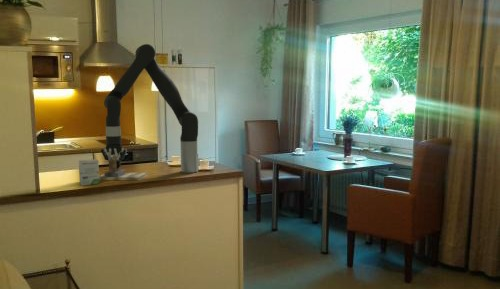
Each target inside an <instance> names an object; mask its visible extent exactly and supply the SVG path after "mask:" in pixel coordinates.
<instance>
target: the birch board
mask: <svg viewBox="0 0 500 289" xmlns="http://www.w3.org/2000/svg"><path fill="white" fill-rule="evenodd" d="M146 177H148V172H125V174H123V175H121V176H119V177H104V174H101V175H99V181H142V180H143V179H144V178H146Z"/></svg>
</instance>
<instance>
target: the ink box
mask: <svg viewBox="0 0 500 289" xmlns="http://www.w3.org/2000/svg"><path fill="white" fill-rule="evenodd" d="M78 171H79V173H78V174H79V185H80V186H90V185H91V186H92V185H99V184H100V180H99V176H100V167H99V160H98V159H82V160H78Z"/></svg>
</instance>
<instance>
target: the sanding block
mask: <svg viewBox="0 0 500 289" xmlns="http://www.w3.org/2000/svg"><path fill="white" fill-rule="evenodd" d="M125 173H126V169H121V167H120V168H117V159H116V158H112V160H110V161H108V170H107V171H105V172H104V177H119V176H121V175H123V174H125Z"/></svg>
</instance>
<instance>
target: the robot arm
mask: <svg viewBox="0 0 500 289" xmlns="http://www.w3.org/2000/svg"><path fill="white" fill-rule="evenodd" d="M134 53H135V59H133V62H132V63H131V64H130V66H129V67H128V69H126V71H125V72H124V73H123V74H122V76H121V77H120V79H119V80H118V81H117V83H116V84H115V86H114V88H113V89H112V90H111V91H110V92H109V93H108V94H107V96H106V97H105V98H104V100H103V101H104V102H103V105H104V107H105V108H106V114H107V115H106V116H105V145H106V146H105V148H102V149H101V150H100V152H101V154H102V156H103V159H104V160H105V161H108V162H109V161H110V160H112V159H113V157H114V156H115V159H117V168H120V169H121V165H122V164H121V161H122V160H125V157H126V154H127V153H128V149H127V148H124V147H123V146H122V129H121V119H120V118H121V110H122V103H121V101H122V99H123V98H124V97H125V96H126V95H128V93H129V92H130V90H131V89H132V87H133V86H134V84H135V83H136V81H137V79H138V78H139V76H140V75H141V73H142V72H143V71H144V70H145V71H146V73H147V74H148V75H149V78H150V79H151V81H152V82H153V84H154V85H155V87H156V89H157V91H158V92H159V94H160V95H161V97H162V98H163V99H164V100H165V102H166V104H167V105H168V106H169V107H170V108H171V110H172V112H173V114H174V115H175V117H176V119H177V121H178V123H179V125H180V127H181V135H180V170H181V171H180V172H182V173H188V174H189V173H190V174H191V173H198V171H199V153H198V137H199V119H198V116H197V114H195V113H194V112H191V111H190V110H189V109H188V107H187V106H186V105H185V103H184V102H183V100H182V97H181V96H182V95H181V93H180V91H179V89H178V87H177V86H176V83H175V82H174V81H173V79H172V78H171V77H170V75H169V74H167V72H165V71H164V70H163V69H162V68H161V67H160V65H159V63H158V62H157V60H156V58H155V57H156V55H157V54H156V49H155V47H154V46H153V45H151V44H148V43H146V44H145V43H144V44H142V45H140V46H138V47H137V48H136V50H135V52H134Z"/></svg>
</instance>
